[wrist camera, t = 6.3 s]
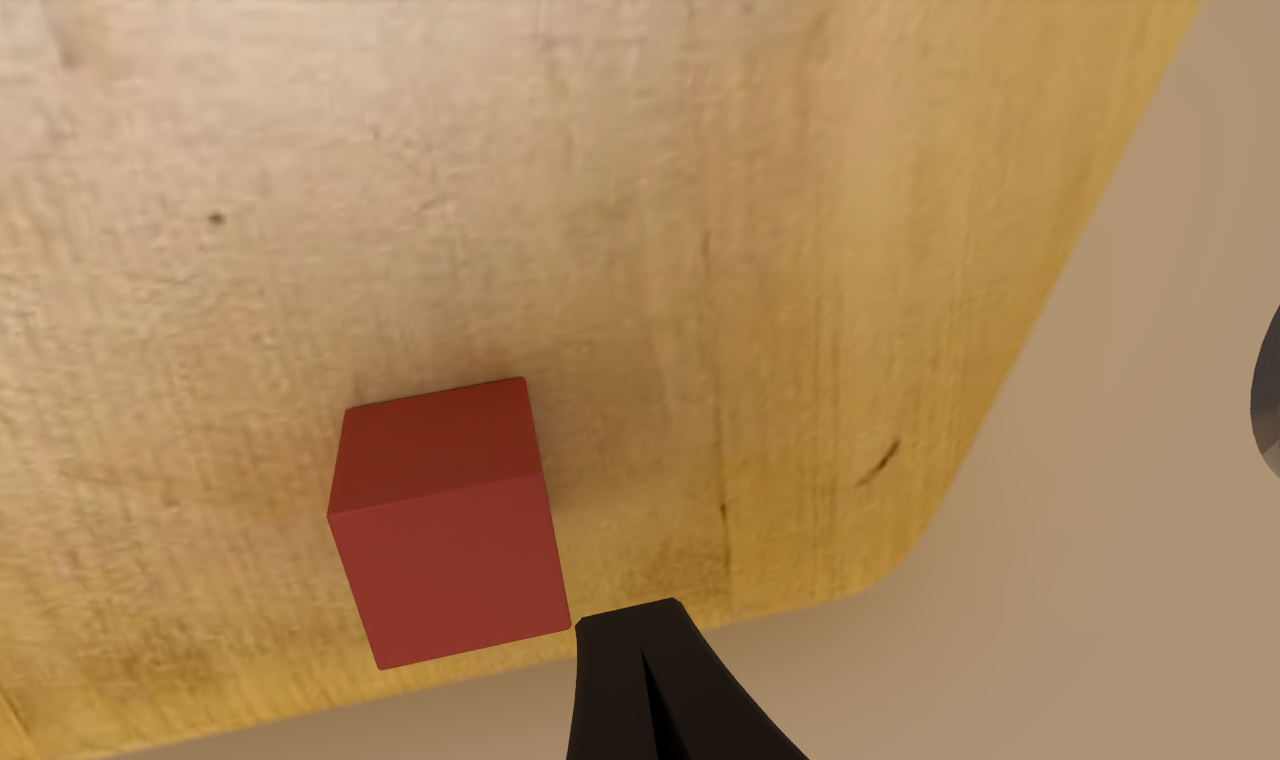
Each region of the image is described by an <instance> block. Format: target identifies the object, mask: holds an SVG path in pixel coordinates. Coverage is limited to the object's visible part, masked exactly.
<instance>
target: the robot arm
mask: <svg viewBox="0 0 1280 760" xmlns="http://www.w3.org/2000/svg"><path fill="white" fill-rule="evenodd" d="M575 631H576V638H577V679H576V691H575V702H574V710H573V717H572V724H571V731H570V738H569V745H568V752H567V758H566V760H809V759H808V758H807V757H806V756H805V755H804V754H803V753H802V752H801V751H800V750H799V749H798V748H797V747H796V746H795V745H794V744H793V743H792V742H791V741H790V739H789V738H787V736H786V735H785V734H784V733H783V732H782V731H781V730H780V729H779V728H778V727H777V726H776V725H775V724H774V723H773V722H772V720H771V719H770V718H769V717H768V716H767V715H766V714H765V712H764V711H763V710H762V709H761V708H760V707H759V706H758V704H757V703H756V702H755V701H754V700H753V699H752V698H751V696H750V695H749V694H748V693H747V692H746V691H745V689H744V688H743V687H742V686H741V685H740V684H739V683H738V681H737V680H736V679H735V678H734V676H733V675H732V674H731V673H730V672H729V670H728V669H727V668H726V667H725V665H724V664H723V663H722V661H721V660H720V659H719V657H718V656H717V655H716V654H715V652H714V651H713V650H712V648H711V647H710V646H709V644H708V643H707V641H706V640H705V639H704V638H703V636H702V634H701V633H700V632H699V630H698V629H697V627H696V626H695V624H694V623H693V621H692V620H691V618H690V616H689V615H688V613H687V612H686V610H685V608H684V607H683V605H682V603H681V602H680V601H678V600H676V599H675V598H673V597H672V598H667V599H663V600H658V601H654V602H649V603H645V604H640V605H636V606H631V607H627V608H622V609H618V610H614V611H609V612H605V613H600V614H596V615H591V616H587V617H582V618H581V620H580V621H579V622H578V623H577V624H576V625H575Z"/></svg>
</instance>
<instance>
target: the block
mask: <svg viewBox="0 0 1280 760" xmlns="http://www.w3.org/2000/svg"><path fill="white" fill-rule="evenodd" d="M327 519H328V522H329V525H330V528H331V531H332V534H333V537H334V540H335V543H336V546H337V549H338V551H339V554H340V557H341V560H342V563H343V566H344V569H345V572H346V575H347V578H348V581H349V584H350V587H351V590H352V593H353V596H354V599H355V602H356V605H357V608H358V611H359V614H360V617H361V620H362V623H363V626H364V629H365V632H366V635H367V638H368V641H369V644H370V646H371V649H372V652H373V655H374V658H375V661H376V664H377V667H378V669H379V670H386V669H391V668H395V667H400V666H404V665H409V664H413V663H418V662H423V661H427V660H432V659H436V658H441V657H445V656H450V655H454V654H459V653H463V652H468V651H473V650H477V649H482V648H486V647H491V646H495V645H500V644H504V643H509V642H513V641H518V640H523V639H527V638H532V637H536V636H541V635H545V634H550V633H554V632H559V631H563V630H568V629H570V628H571V625H572V624H571V619H570V613H569V608H568V603H567V597H566V592H565V587H564V581H563V576H562V571H561V565H560V560H559V555H558V549H557V544H556V539H555V533H554V528H553V523H552V517H551V512H550V507H549V501H548V496H547V491H546V485H545V480H544V475H543V470H542V464H541V459H540V454H539V448H538V443H537V438H536V433H535V427H534V422H533V417H532V411H531V406H530V401H529V395H528V390H527V385H526V380H525V379H524V378H523V377H520V378H514V379H509V380H504V381H498V382H493V383H487V384H482V385H477V386H471V387H466V388H460V389H455V390H450V391H444V392H439V393H433V394H428V395H423V396H417V397H412V398H406V399H401V400H396V401H390V402H385V403H379V404H374V405H369V406H363V407H358V408H352V409H348V410H346V411H345V414H344V420H343V426H342V431H341V437H340V443H339V449H338V454H337V460H336V466H335V471H334V477H333V483H332V488H331V494H330V500H329V506H328V511H327Z"/></svg>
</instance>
